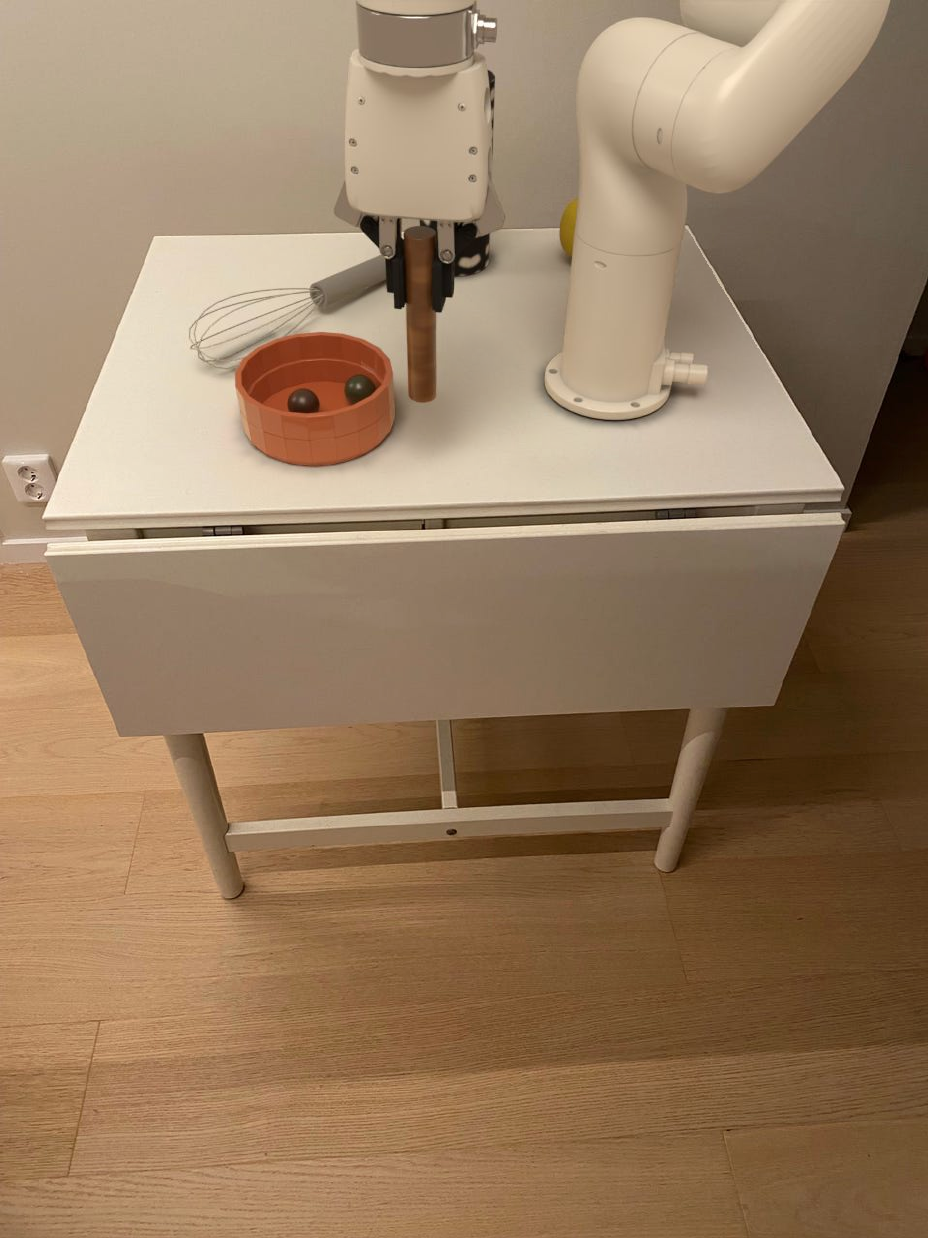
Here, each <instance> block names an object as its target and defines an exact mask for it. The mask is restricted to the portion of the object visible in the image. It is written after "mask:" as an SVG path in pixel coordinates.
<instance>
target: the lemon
mask: <svg viewBox="0 0 928 1238" xmlns="http://www.w3.org/2000/svg"><path fill="white" fill-rule="evenodd" d="M577 205H578V197H576V198H574V199H573V200H571V201H570V202H569V203H568V204H567V205H566V207H565V209H564V210H563V212H562V215H561V218H560V221H559V230H558V231H559V242H560V245H561V247H562V249H563V251H564V252H565V254H567V255H568V256H569V257H571V258H572V253H573V243H574V233H575V226H576V216H577Z"/></svg>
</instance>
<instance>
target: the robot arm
mask: <svg viewBox="0 0 928 1238" xmlns="http://www.w3.org/2000/svg"><path fill="white" fill-rule="evenodd" d="M477 1H478V0H355V10H356V11H355V13H356V14H355V15H356V31H357V48H355V49H354V50H352V52H351V55H350V57H349V63H348V70H347V79H346V89H345V90H346V92H345V107H344V108H345V109H344V110H345V111H344V181H343V184H342V187H341V188H340V189H341V190H340V192H339V195H338V197H337V200H336V203H335V204H334V205H335V206H334V207H333V213H334V215H335V217H336V218H337V219H340V220H341V221H344V222H345V223H347V224H349V225H351V226H353V227H355V228H359V229H360V231H361V232H362V234H364V235H365V236H366V237H367V238H368V239H369V240H370V241H371V242H372V243H373V244H374V245H375V246H376V247H377V248H378V249H379V255H381V256H382V257H384V258H385V264H386V280H385V282H386V284H385V285H386V292H387V293H389V294H393V308H394V310H402V309H404V308H405V307H406V293H405V260H404V237H403V232H402V231H403V219H406V220H418V221H420V220H432V221H437V230H438V248H437V250H436V257H435V258H434V260H433V263H432V310H435V312H436V313H439V314H441V313H443V310H444V307H445V303H446V301H447V300H446V299H447V298H448V299H453V298H454V293H455V277H456V276H455V257H456V256H457V255H458V254H459V253H460V252H461V251H462V250H463V249H464V248H466V247H467V246H468V245H469V244H470V243H471V242H472V241H473V240H474V239H475V238H477V237H480V236H481V237H482V236H484V235H487V234H489V233H490V234H492V233H494V232H495V233H496V232H498V231H500V230H501V229H503V227H504V223H505V221H506V214H505V211H504V209H503V207H502V204H501V201H500V198H499V196H498V194H497V191H496V189H495V185H494V184H493V155H492V121H491V99H490V88H489V78H488V71H487V70H488V65H487V59H486V57H485V55H484V54H482V53H481V52H477V51H474V50H475V49H478V48H479V45H485V43H496V42H497V35H498V18H497V17H487V16H486V14H481V10H480V9H478V8H477V5H478V3H477ZM890 4H891V0H679V13H680V18H681V20H682V22H683V24H684V25H685V26H683V25H680V24H676V23H673V22H670V21H667V20H663V19H658V18H655V17H643V16H641V17H640V16H638V17H630V18H626V19H625V18H624V19H623V20H620V21H617V22H615V23H613V24H612V25H609V26H608V27H607V28H605V29H604V30H603V31H601V32H600V34H599V35H598V36H597V37H596V38H595V39H594V41H592V43H591V45H590V46H589V48H588V49H587V50H586V53H585V55H584V57H583V60H582V62H581V65H580V68H579V71H578V75H577V81H576V88H575V120H576V121H575V123H576V133H577V144H578V145H577V146H578V159H579V160H578V163H579V164H578V168H579V170H578V171H579V172H578V175H579V176H578V194H577V198H578V205H577V216H576V226H575V233H574V243H573V253H572V257H571V264H570V273H569V274H570V275H569V285H568V293H567V294H568V295H567V303H566V314H565V323H564V324H565V325H564V332H563V334H564V335H563V343H562V344H563V346H562V351H561V352H559V353H558V354H555V356H554V357H552V358H551V359H550V360H549V362H548V363H547V365H546V368H545V371H544V380H543V381H544V387H545V389H546V391H547V394H548V395H549V396H550V397H551V398H552V399H553V400H554V401H555V402H556V403H557V404H559V406H561V407H563V408H565V409H566V410H569V411H570V412H572V413H576V414H577V415H580V416H583V417H588V418H591V419H597V420H605V421H606V420H607V421H623V420H632V419H636V418H642V417H644V416H646V415H649V414H651V413H654V412H655V411H657V410H659V409H661V407H662V406H664V404H665V403H666V402H667V400H668V399H669V397H670V393H671V389H672V384H673V383H682V384H683V383H684V384H688V385H700V386H705V385H706V383H707V380H708V379H707V378H708V369H709V366H708V364H702V363H701V364H700V363H694V356H695V355H694V353H693V352H673V351H671V350H670V348H666V336H665V333H666V328H667V322H668V317H669V313H670V312H669V311H670V306H671V302H672V296H673V291H674V286H675V281H676V274H677V270H678V264H679V258H680V254H681V253H680V252H681V247H682V242H683V239H684V235H685V229H686V224H687V215H688V192H687V185H688V186H689V187H691V188H695V189H697V190H700V191H703V192H706V193H709V194H716V195H720V194H728V193H732V192H735V191H737V190H739V189H741V188H743V187H745V186H746V185H748V184H749V183H751V182H752V181H753V180H755V179H756V178H757V177H758V176H759V175H761V173H763V172H764V171H765V169H767V168H768V167H769V166H770V164H771V163H772V162H773V161H774V160H775V159H776V158H777V157H778V156H779V155H780V154H781V153H782V152H783V151H784V150H785V149H786V148H787V147H788V145H789V144H790V143H791V142H792V141H793V140H794V139H795V138H796V137H797V136H798V134H799V133H800V132H802V130H804V128H806V126H807V125H808V124H809V123H810V122H811V121H812V120H813V119H814V117H816V115H817V114H818V113H819V112H820V111H821V110H822V109H823V107H825V105H827V103H828V102H829V101H830V100H831V99H832V98H833V97H834V95H836V94H837V93H838V92H839V90H840V89H841V88H842V87H843V86H844V85H845V84H846V83H847V82H848V80H849V79H850V78H851V76H852V75H853V74H854V73H855V72H856V71H857V70H858V68H859V66H860V65H861V64H862V63H863V61H865V59H866V57H867V55H868V54H869V52H870V51H871V50H872V49H871V48H872V47H873V45H874V43H875V42H876V40H877V38H878V36H879V34H880V32H881V29H882V27H883V24H884V22H885V20H886V16H887V13H888V10H889V7H890ZM491 180H492V181H491ZM459 222H461V223H460V224H459Z"/></svg>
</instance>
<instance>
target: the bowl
mask: <svg viewBox="0 0 928 1238" xmlns="http://www.w3.org/2000/svg"><path fill="white" fill-rule="evenodd" d="M281 337H282V336H281ZM281 337H278V338H275V339H272V340H270V341H268V342H266V343H264V344H262V345H259V346H258V347H256V348H255V349H253V350H251V352H249V353H248V354H247V355H246V357H245V356H244V357H245V358H243V359H241V361H240V363H239V364H238V365H239V366H238V365H237V366H238V367H236V370H235V371H234V387H235V391H236V393H235V394H236V397H237V403H238V408H239V412H240V418H241V422H242V428H243V432H244V433H245V435H246V437H247V438H248V439H249V441H250V442H251V444H252V445H253V446H255V447H256V448H257V449H258V450H259V451H260V452H262V453H263V454H265V455H266V456H267V457H270V458H272V459H274V460H277V461H280V462H283V463H287V464H290V465H291V464H292V465H297V466H306V467H307V466H309V467H310V466H311V467H314V466H315V467H316V466H319V467H320V466H329V465H330V466H331V465H336V464H339V463H340V464H341V463H345V462H348V461H352V460H355V459H357V458H360V457H362V456H363V455H365V454H367V453H369V452H371V451H372V450H374V449H375V448H376V447H377V446H379V445H380V444H381V443H382V442H383V441H384V440H385V439H386V437H387V435H388V434H389V433H390V432H391V430H392V427H393V425H394V421H395V418H396V409H395V407H396V406H395V389H394V387H395V385H394V371H393V366H392V362H391V359H390V357H388V355H387V354H386V353H385V352H384V351H383V350H382V348H380V347H379V346H377V345H375V344H373V343H372V342H370V341H367V340H366V339H364V338H361V337H357V336H353V335H349V334H346V333H339V332H330V331H329V332H327V331H314V332H303V333H301V332H300V333H295V334H289V335H287V336H286V337H282V338H281ZM357 374H362V375H365V376H367V377H369V378H370V379H371V380H372V381H373V383H374V385H375V389H376V391H375V392H374V393H373V394H372V395H371V396H369V397H367V398H365V399H364V400H362V401H360V402H358V403H356V404H354V405H352V404H351V403H350V402H349V401H348V400H347V399H346V397H345V394H344V387H345V383H346V382H347V380H348V379H349V378H350V377H352V376H354V375H357ZM300 388H306V389H309V390H311V391H313V392H314V393H315V394H316V395H317V397H318V399H319V402H320V408H319V412H318V413H296V412H289V410H288V406H287V402H288V398H289V396H290V394H291V393H292V392H293V391H295V390H297V389H300Z"/></svg>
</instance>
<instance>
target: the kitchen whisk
mask: <svg viewBox="0 0 928 1238" xmlns="http://www.w3.org/2000/svg"><path fill="white" fill-rule="evenodd" d="M383 281H386V264H385V258H384V257H382V256H381V254H379V255H377V256H374V257H373V258H370V259H368V260H365V261H363V262H360V263H358V264H356V265H353V266H351V267H349V268H346V269H343V270H342V271H339V272H337V273H334V274H331V275H330V276H327V277H325V278H323V279H321V280H318V281H316V282H314V283H311V284H310V286H309V287H285V288H283V287H281V288H269V289H267V288H266V289H259V290H253V291H246V292H243V293H242V292H241V293H238V294H235V295H230V296H228V297H226V298H223V299H220V300H218V301H216V302H214V303H213V304H211V305H210V306H208V307H207V308H205V309H204V310H203V311H202V312H201V313H200V315H199V317H197V319H195V320H194V321H193V322H192V324H191V325H190V327H189V328H188V340H189V341H190V342H191V344H192V345H190V347H189V350H191V351H192V350H194V351H197V358H198V359H199V360H201V361H202V362H203V363H206V364H208V365H209V366H211V367H213V369H217V370H218V369H219V370H230V369H231V370H232V369H234V368H238V366H239V364H238V365H233V366H229V367H220V366H215V365H213V364H212V363H210V362H217V361H219V362H233V361H234V362H235V361H240V360H243V358H245V357H246V356H247V355H246V356H242V357H238V358H234V359H233V358H232V359H226V358H227V357H228V358H229V357H230V356H232V355H234V354H237V353H239V352H241V351H243V350H244V349H246V348H249V347H250V346H252V345H254V344H255V343H257V342H259V341H260V340H262V339H264V338H265V337H267V336H269V335H270V334H272V333H273V332H275V331H277V330H278V329H280V328H281V327H283V326H284V325H285V324H288V322H290V321H291V320H293V319H294V318H296V317H297V316H299V315H300V314H301V313H303V312H304V311H305V310H307V309H308V308H310V307H312V305H315V306H314V307H313V309H311V310H310V311H309V313H308V314H307V315H305V316H304V317H303V318H302V319H301V320H300V321H299V322H298V323H297V324H296V325H295V326H293V328H291V329H290V330H289V331H287V332H286V333H285V334H283V335H282V336H281V337H280V338H282V337H286V336H290V335H291V333H292V332H293V331H294V330H295V329H297V327H299V326H300V325H301V324H302V323H303V322H304V321H305V320H306V319H307V318H308V317H309V316H310V315H311V314H312V313H313V312H314V311H315V310H316V309H317V308H319V309H320V308H321V309H322V308H323V309H324V308H326V307H328V306H330V305H332V304H335V303H337V302H339V301H341V300H344V299H346V298H348V297H350V296H353V295H355V294H357V293H359V292H361V291H363V290H366V289H367V288H369V287H372V286H374V285H377V284H378V283H381V282H383ZM283 290H285V291H286V290H302V291H297V292H289V293H283V294H275V295H268V296H263V297H258V298H251V299H248V300H242V301H240V302H234V303H232V304H229V305H224V306H222V307H219V308H216V309H214V310H211V311H209V312H207V313H205V312H206V311H208V310H210V309H211V308H212V307H214V306H216V305H217V304H219V303H222V302H224V301H226V300H227V301H228V300H230V299H232V298H235V297H240V296H244V295H247V294H255V293H261V292H271V291H283ZM308 293H309V297H306V298H304V299H300V300H297V301H295V302H292V303H290V304H287V305H285V306H282V307H280V308H276V309H274V310H271V311H269V312H266V313H263V314H261V315H258V316H255V317H253V318H250V319H247V320H246V321H243V322H241V323H238V324H235V325H233V326H231V327H228V328H225V329H223V330H221V331H219V332H216V333H214V334H211V335H209V336H207V337H205V338H203V337H204V336H205V335H206V334H207V332H208V331H209V330H210V328H211V327H213V326H214V325H215V324H216V323H218V322H219V321H220V320H221V319H222V318H225V317H227V316H229V315H230V314H231V313H233V312H235V311H238V310H240V309H242V308H245V307H247V306H250V305H254V304H256V303H259V302H263V301H267V300H271V299H275V298H279V297H284V296H291V295H298V294H308ZM309 299H311V300H309ZM307 300H309V301H307ZM305 301H307V302H305ZM248 302H250V303H248ZM301 302H305V303H304V304H302V305H299V306H298V307H297V308H295V309H292V310H290V311H289V312H287V313H284V314H282V315H280V316H279V317H277V318H275V319H272V320H271V321H269V322H266V323H264V324H263V325H260V326H258V327H256V328H253V329H251V330H249V331H247V332H243V333H242V334H239V335H237V336H234V337H232V338H229V339H226V340H222V341H220V342H216V343H214V344H210V345H207V346H201V343H202V342H204V341H206V340H208V339H210V338H213V337H214V336H218V335H219V334H222V333H224V332H227V331H229V330H232V329H233V328H236V327H239V326H241V325H245V324H246V323H249V322H251V321H254V320H257V319H259V318H261V317H264V316H267V315H269V314H272V313H275V312H278V311H281V310H282V309H286V308H288V307H290V306H294V305H296V304H299V303H301ZM245 303H246V304H245ZM310 303H311V304H310ZM239 304H244V305H241V306H239V307H237V308H233V309H232V310H230V311H228V312H227V313H225V314H224V315H221V316H219V317H218V318H217V319H216V320H214V322H212V323H211V324H210V325H209V326H208V327H207V328H206V330H205V331H204V332H203V333H202V334H201V337H200V339H199V341H197V336H196V330H197V326H198V322H199V321H200V320H202V319H203V318H204V317H207V316H208V315H210V314H212V313H215V312H217V311H219V310H222V309H225V308H226V309H227V308H230V307H232V306H235V305H239ZM305 306H306V307H305ZM303 307H304V308H303ZM301 308H303V309H302V310H301V311H298V313H296V314H295V315H293V316H292V317H291V318H289V319H287V320H286V321H284V322H283V323H282V324H280V325H278V326H277V327H276V328H274V329H272V330H271V331H268V333H266V334H265V335H262V336H261V337H259V338H258V339H256V340H254V341H253V342H251V343H249V344H248V345H246V346H243V347H242V348H240V349H238V350H235V351H233V352H231V353H229V354H226V355H225V356H221V357H218V358H217V357H213V356H209V355H208V354H206V353H204V351H202V349H207V348H211V347H216V346H219V345H222V344H225V343H227V342H230V341H233V340H236V339H238V338H241V337H243V336H245V335H247V334H249V333H252V332H254V331H257V330H258V329H261V328H263V327H265V326H268V325H269V324H271V323H273V322H276V321H278V320H280V319H282V318H284V317H286V316H288V315H290V314H292V313H293V312H296V311H297V310H299V309H301ZM193 327H194V329H193V333H192V334H193V338H194V342H193V340H192V338H191V329H192V328H193ZM200 346H201V347H200ZM203 355H204V356H205V357H206V358H208V359H210V360H208V359H207V360H206V359H205V357H204V356H203ZM200 356H201V357H200Z"/></svg>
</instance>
